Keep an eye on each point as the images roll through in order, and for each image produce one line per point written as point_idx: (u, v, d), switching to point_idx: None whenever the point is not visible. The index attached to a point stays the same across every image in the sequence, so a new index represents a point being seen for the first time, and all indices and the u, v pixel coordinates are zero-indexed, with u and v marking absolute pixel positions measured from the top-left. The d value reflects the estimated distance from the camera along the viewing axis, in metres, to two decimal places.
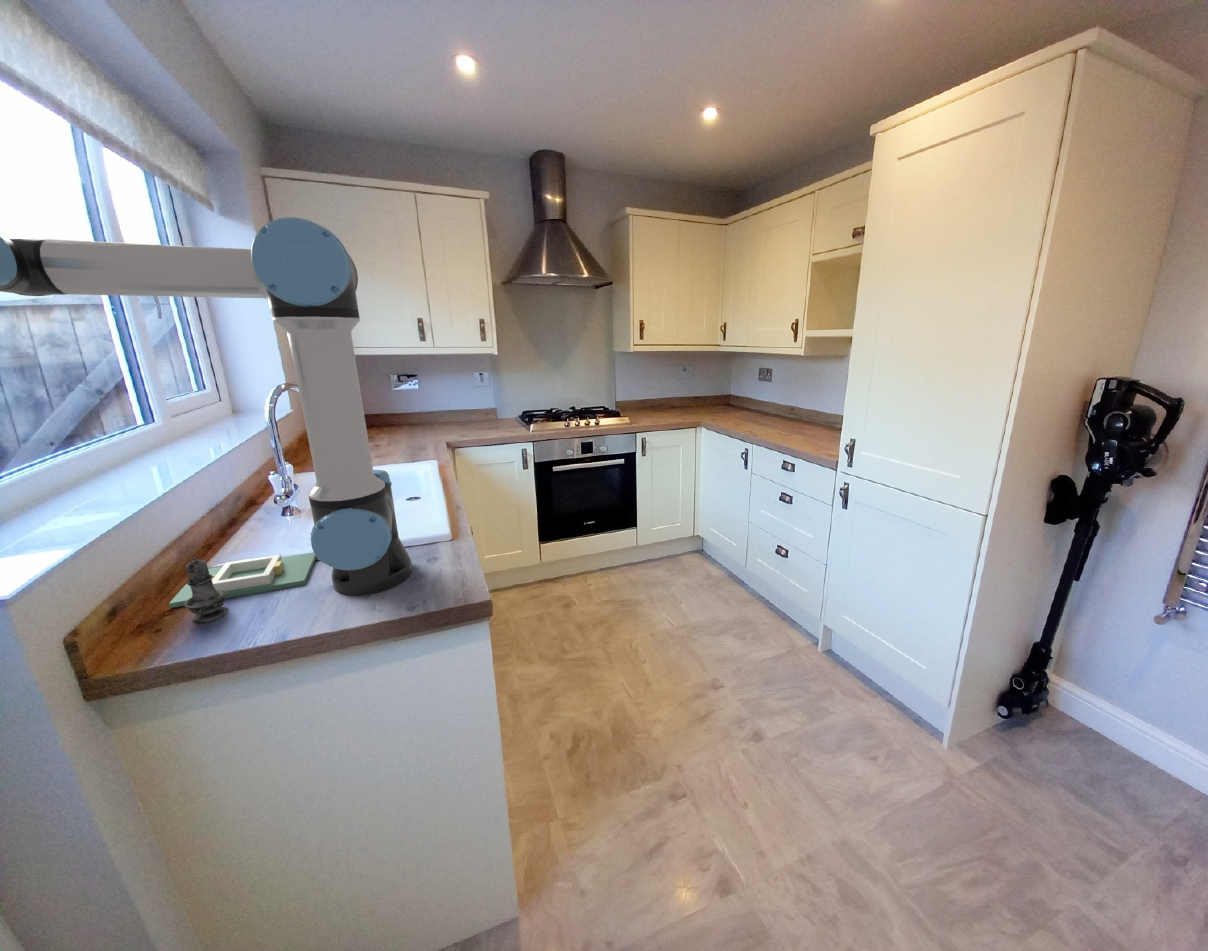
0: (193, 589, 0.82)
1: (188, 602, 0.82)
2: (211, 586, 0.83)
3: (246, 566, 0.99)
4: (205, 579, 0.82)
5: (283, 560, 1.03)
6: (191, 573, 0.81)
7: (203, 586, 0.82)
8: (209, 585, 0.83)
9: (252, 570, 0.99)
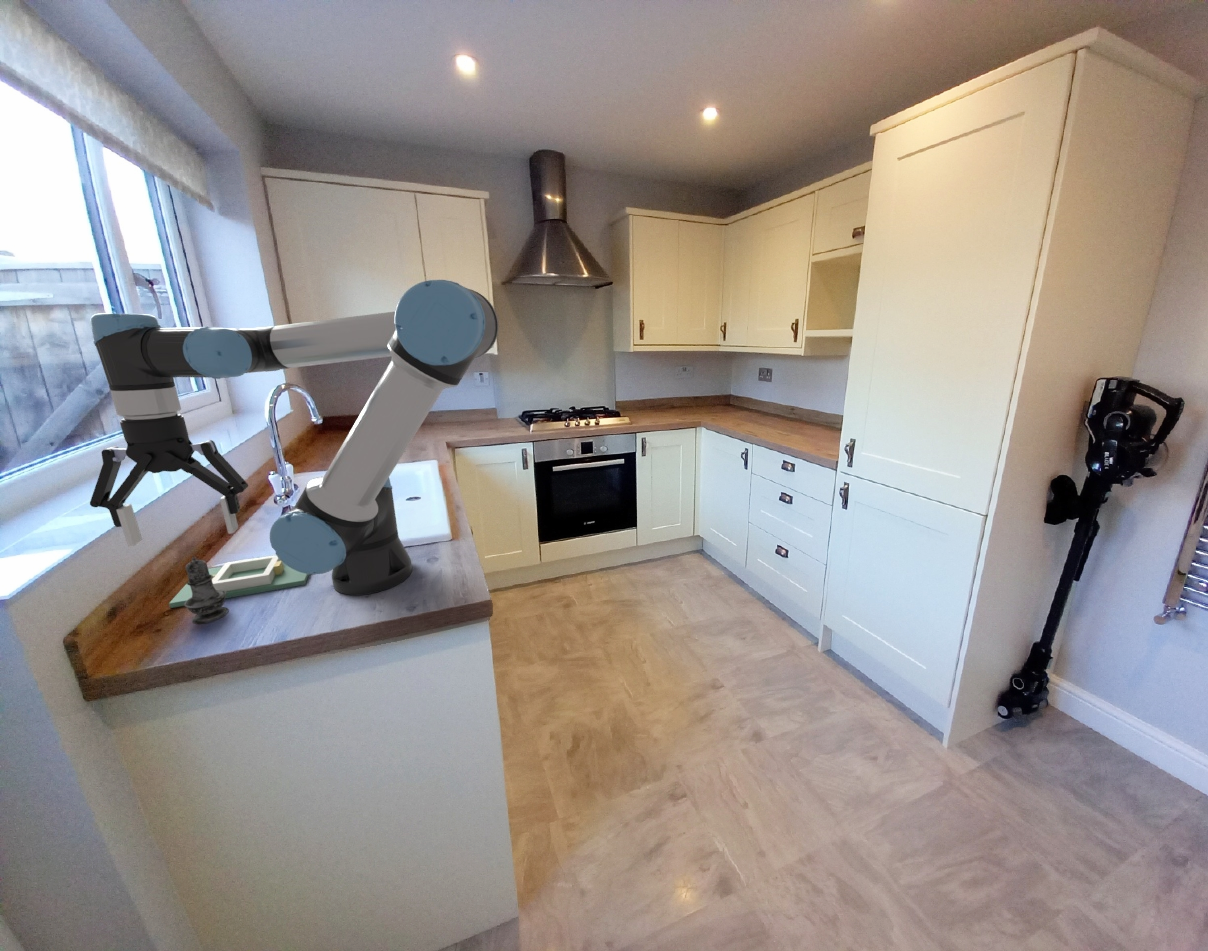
0: (193, 589, 0.82)
1: (188, 602, 0.82)
2: (211, 586, 0.83)
3: (246, 566, 0.99)
4: (205, 579, 0.82)
5: None
6: (191, 573, 0.81)
7: (203, 586, 0.82)
8: (209, 585, 0.83)
9: (252, 570, 0.99)
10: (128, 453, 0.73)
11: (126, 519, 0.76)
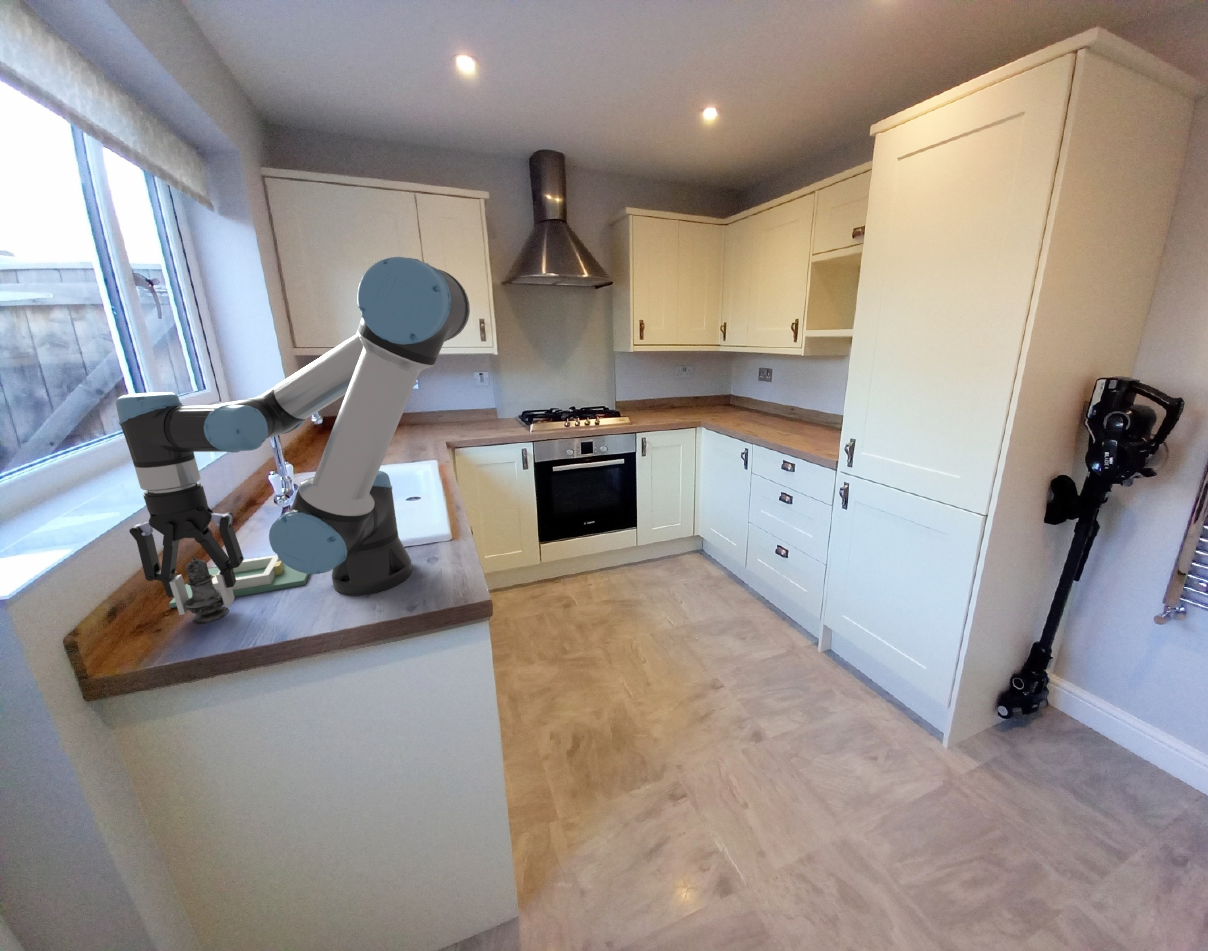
0: (193, 589, 0.82)
1: (188, 602, 0.82)
2: (211, 586, 0.83)
3: (246, 566, 0.99)
4: (205, 579, 0.82)
5: None
6: (191, 573, 0.81)
7: (203, 586, 0.82)
8: (209, 584, 0.83)
9: (252, 570, 0.99)
10: (152, 524, 0.77)
11: (178, 590, 0.81)
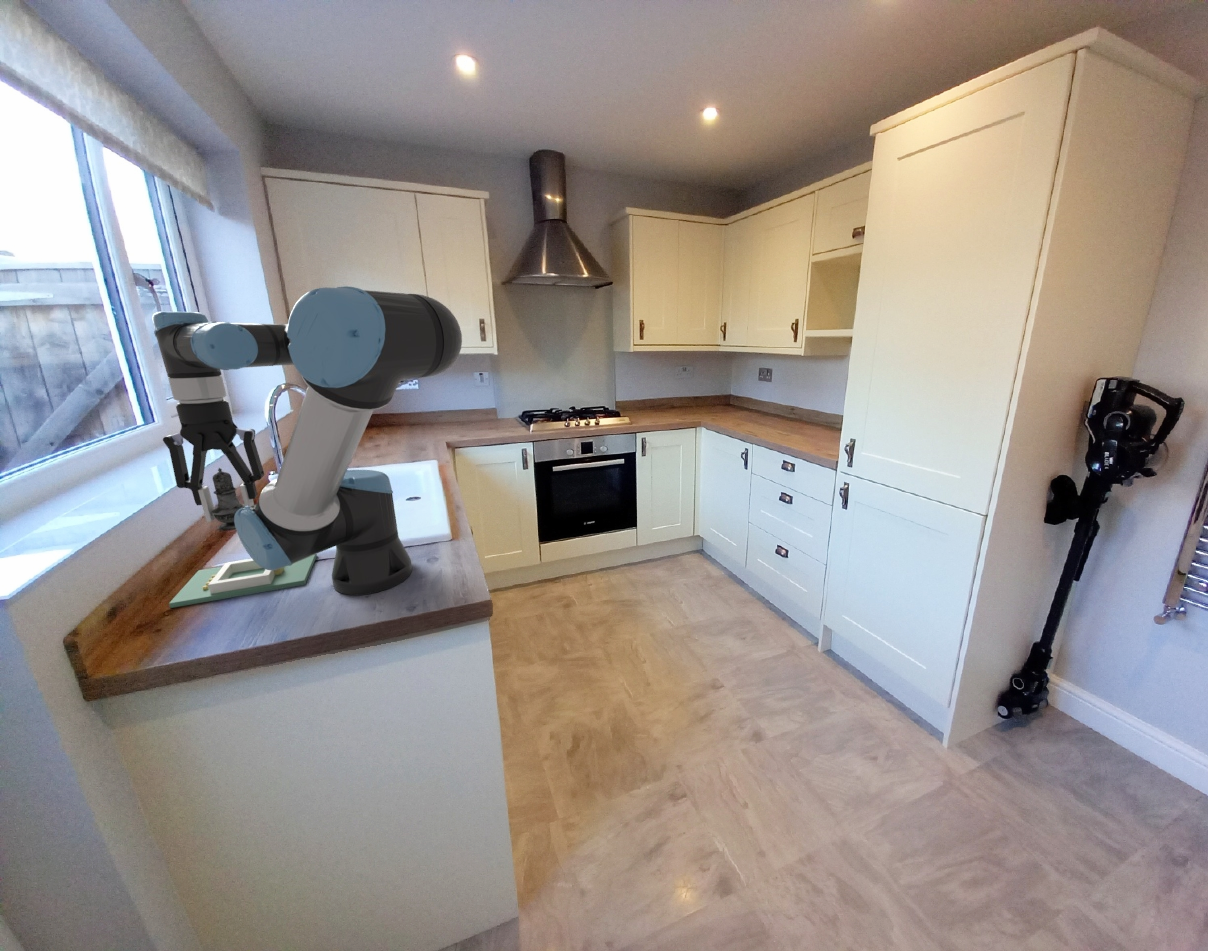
0: (219, 498, 0.89)
1: (214, 510, 0.90)
2: (235, 497, 0.91)
3: (246, 566, 0.99)
4: (230, 489, 0.90)
5: None
6: (218, 482, 0.89)
7: (228, 496, 0.90)
8: (234, 495, 0.91)
9: (252, 570, 0.99)
10: (183, 434, 0.85)
11: (205, 498, 0.89)
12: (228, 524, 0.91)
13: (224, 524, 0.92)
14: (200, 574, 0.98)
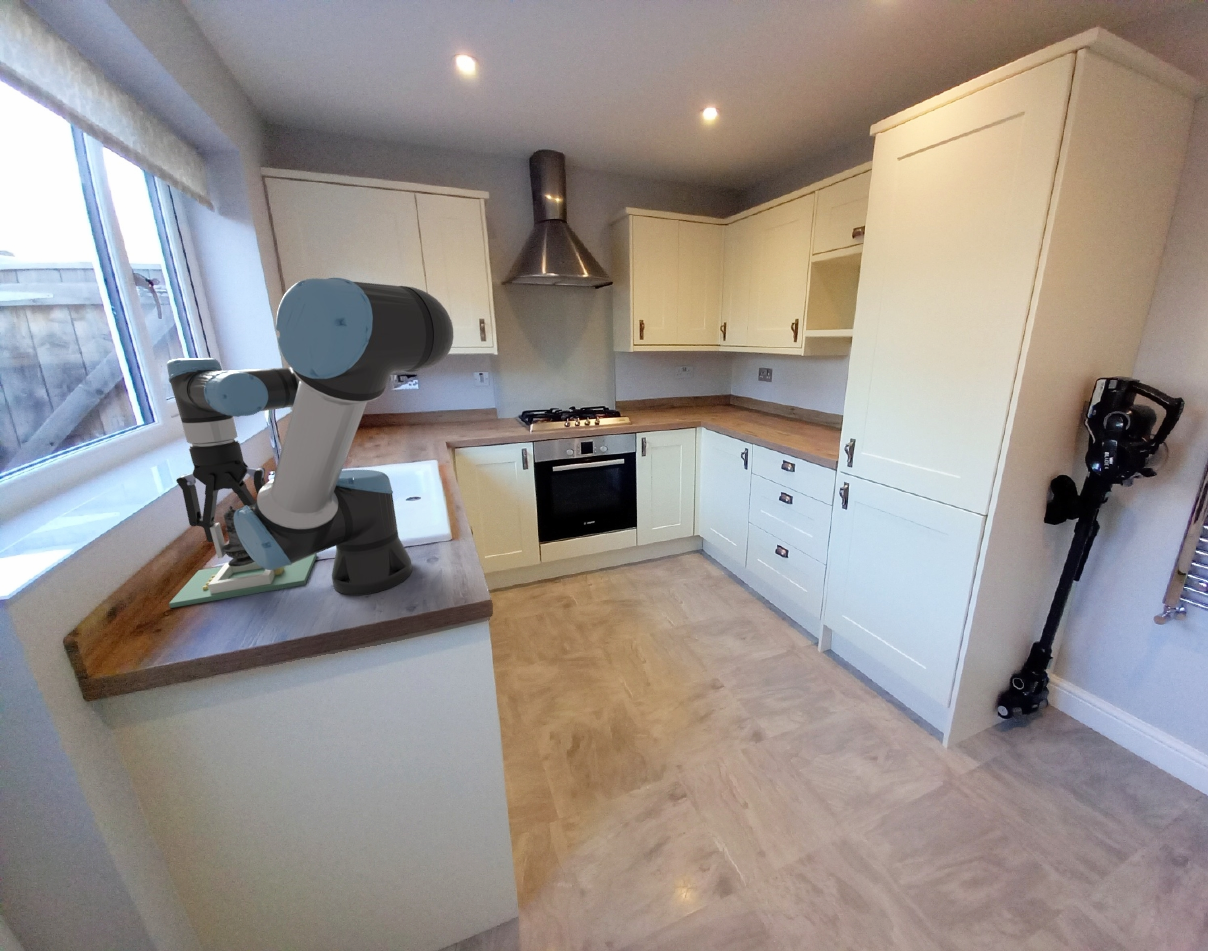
0: (230, 535, 0.92)
1: (225, 547, 0.93)
2: None
3: (246, 566, 0.99)
4: None
5: None
6: (229, 520, 0.91)
7: None
8: None
9: (252, 570, 0.99)
10: (195, 475, 0.87)
11: (217, 535, 0.91)
12: (238, 559, 0.94)
13: (235, 559, 0.94)
14: (200, 574, 0.98)
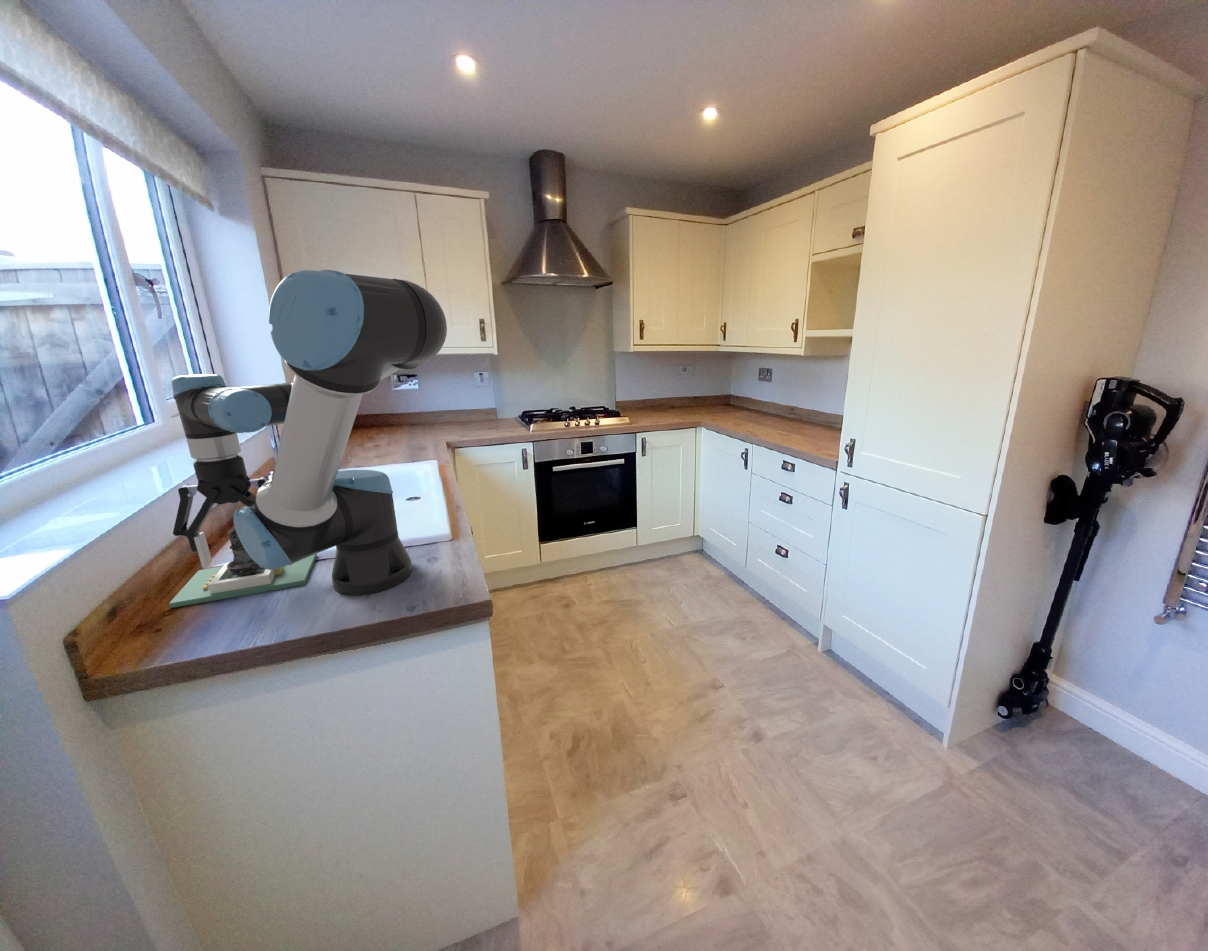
0: (235, 553, 0.93)
1: (230, 564, 0.94)
2: None
3: None
4: None
5: None
6: (234, 538, 0.92)
7: (243, 550, 0.94)
8: None
9: None
10: (199, 489, 0.88)
11: (201, 545, 0.91)
12: None
13: (239, 576, 0.95)
14: (200, 574, 0.98)
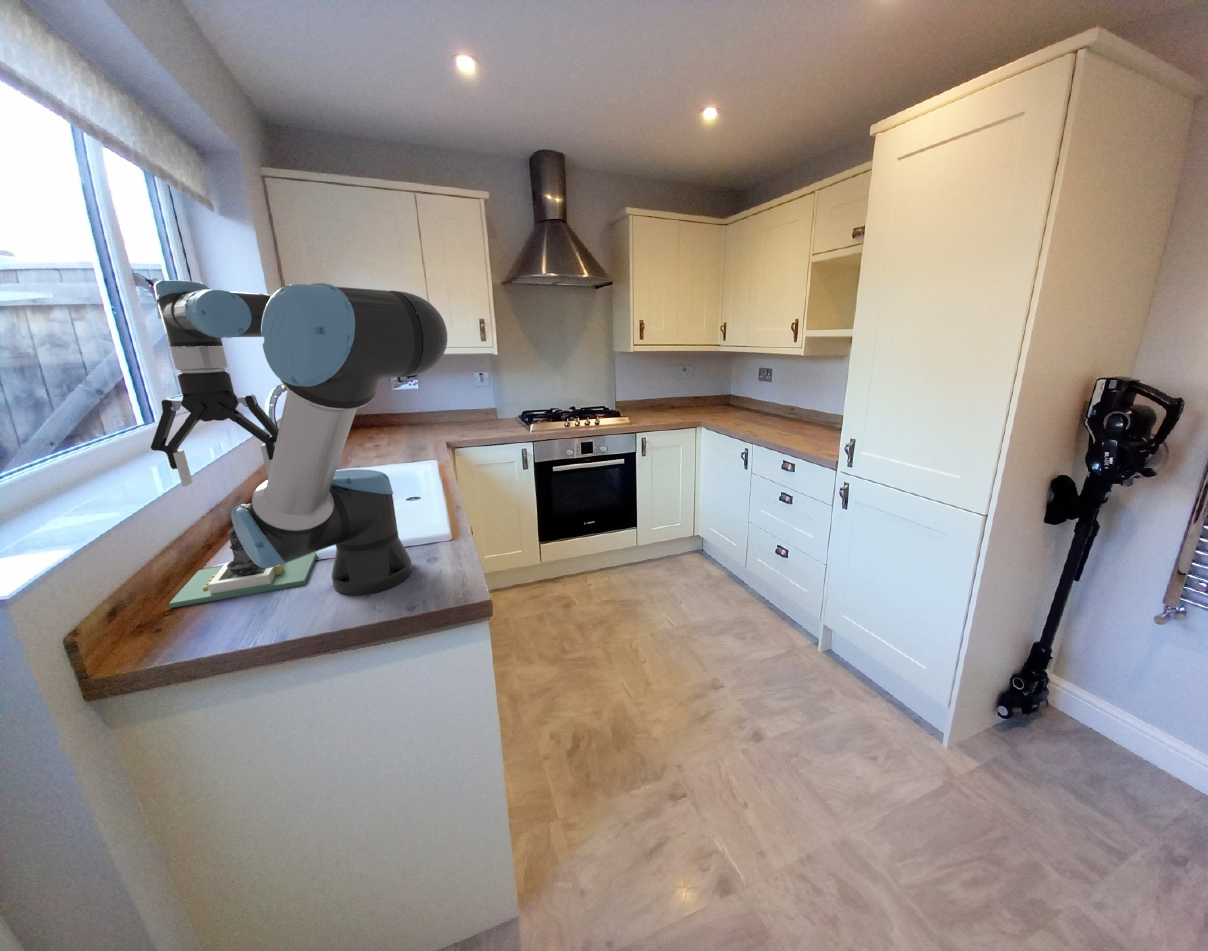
0: (235, 553, 0.93)
1: (230, 564, 0.94)
2: None
3: None
4: None
5: None
6: (234, 538, 0.92)
7: (243, 550, 0.94)
8: None
9: None
10: (184, 403, 0.85)
11: (181, 462, 0.87)
12: None
13: (239, 576, 0.95)
14: (200, 574, 0.98)
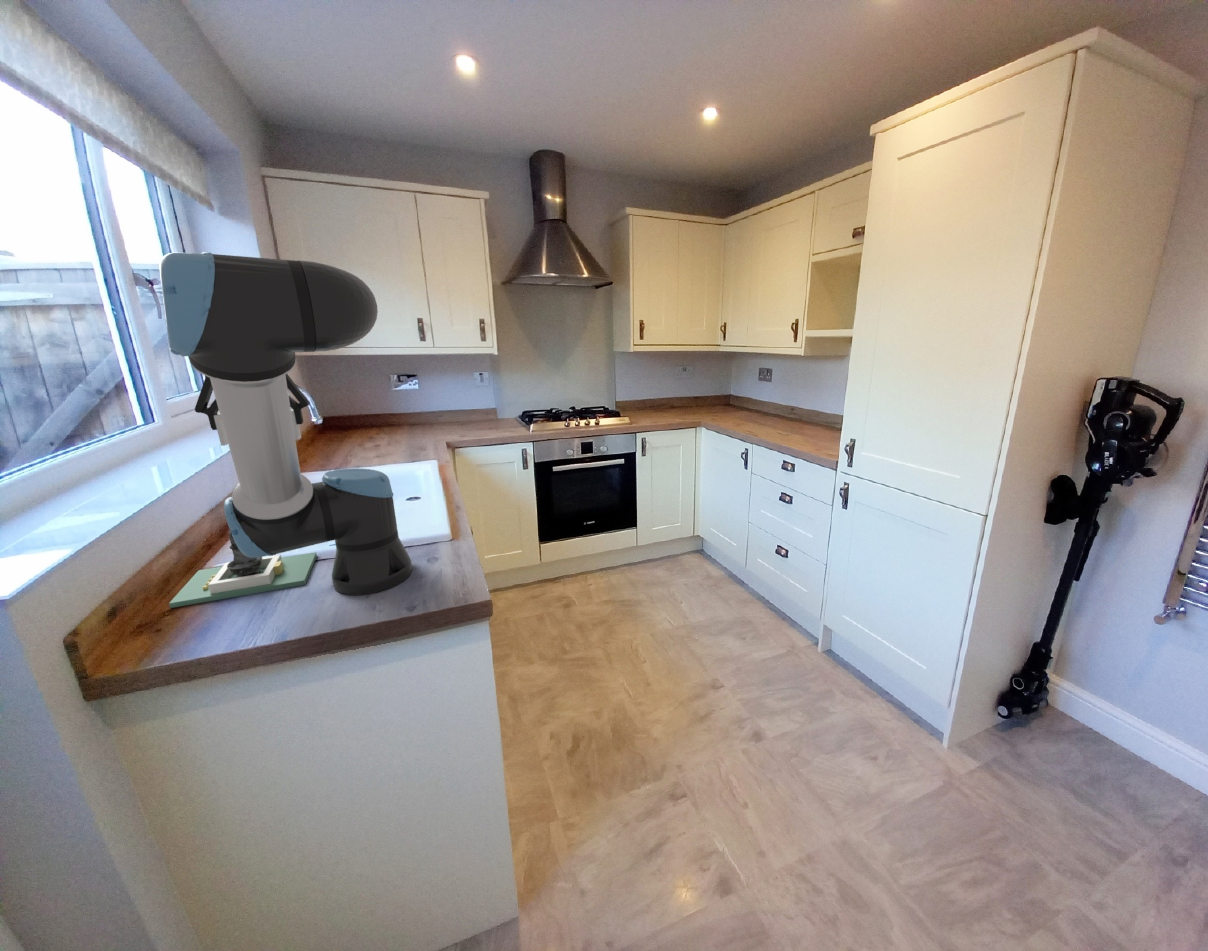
0: (235, 553, 0.93)
1: (230, 564, 0.94)
2: None
3: None
4: None
5: (283, 560, 1.03)
6: None
7: None
8: None
9: None
10: None
11: (220, 424, 0.98)
12: None
13: (239, 576, 0.95)
14: (200, 574, 0.98)
